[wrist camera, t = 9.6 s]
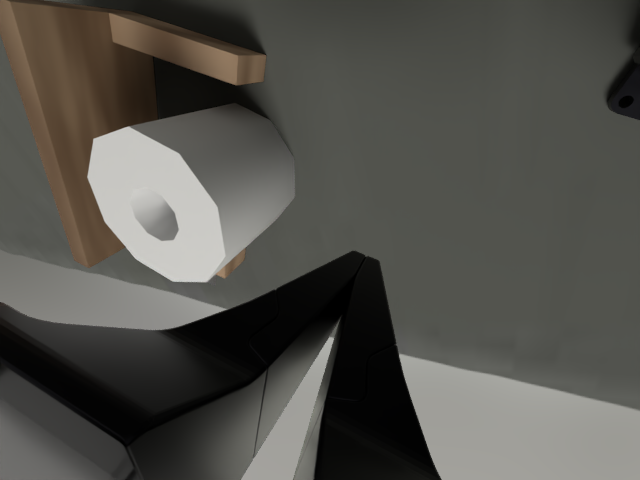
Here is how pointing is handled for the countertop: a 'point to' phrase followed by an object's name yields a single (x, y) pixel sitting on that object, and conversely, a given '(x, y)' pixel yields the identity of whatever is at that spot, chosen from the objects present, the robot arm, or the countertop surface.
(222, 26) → the countertop surface
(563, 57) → the countertop surface
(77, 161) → the roll cradle
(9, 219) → the countertop surface
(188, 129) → the toilet tissue
